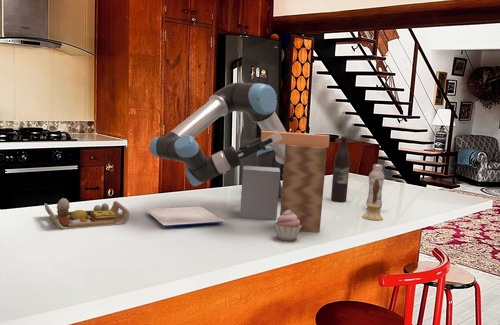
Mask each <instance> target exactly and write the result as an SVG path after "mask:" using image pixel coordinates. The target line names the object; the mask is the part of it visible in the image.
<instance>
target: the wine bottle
mask: <svg viewBox="0 0 500 325" xmlns="http://www.w3.org/2000/svg"><path fill="white" fill-rule="evenodd" d="M347 141H348V136H345V135H342V136H341V137H340V146H339V147H338V150H337V151H336V153H335V156H334V160H333V170H332V171H333V172H332V181H331V183H332V184H331V194H330V200H331V201H333V202H336V203H345V202H347V198H348V196H347V195H348V186H349V185H348V184H349V175H350V166H351V165H350V164H351V156H350V152H349V150H348V147H347Z"/></svg>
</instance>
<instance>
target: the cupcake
mask: <svg viewBox="0 0 500 325" xmlns="http://www.w3.org/2000/svg"><path fill="white" fill-rule="evenodd" d="M273 226H274V227H275V231H276V238H277V239H278V240H280V241H284V242H293V241H296V240H297V238H298V234H299V230H300V228H301V227H302V225H300V221H299V219H298V217H297V216H296V215H295V214H294V213H293V212H291V210H287V211H285V212H284V213H283V214H282V215H281V216H280V215H279V216H278V217H277V220H276V221H275V223H273Z"/></svg>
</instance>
